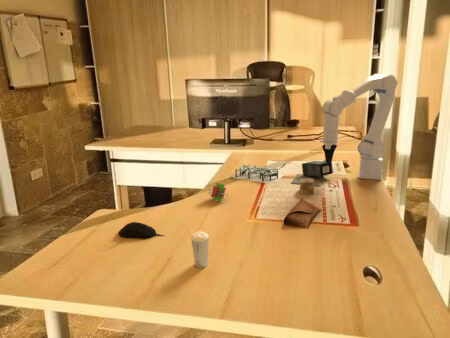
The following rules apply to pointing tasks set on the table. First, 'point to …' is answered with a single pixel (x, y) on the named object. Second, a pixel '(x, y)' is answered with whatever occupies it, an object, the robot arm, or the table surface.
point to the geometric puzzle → (217, 192)
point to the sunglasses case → (301, 215)
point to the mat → (316, 179)
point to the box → (317, 168)
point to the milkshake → (200, 248)
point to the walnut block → (306, 186)
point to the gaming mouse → (137, 231)
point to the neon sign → (257, 174)
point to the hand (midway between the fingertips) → (328, 162)
